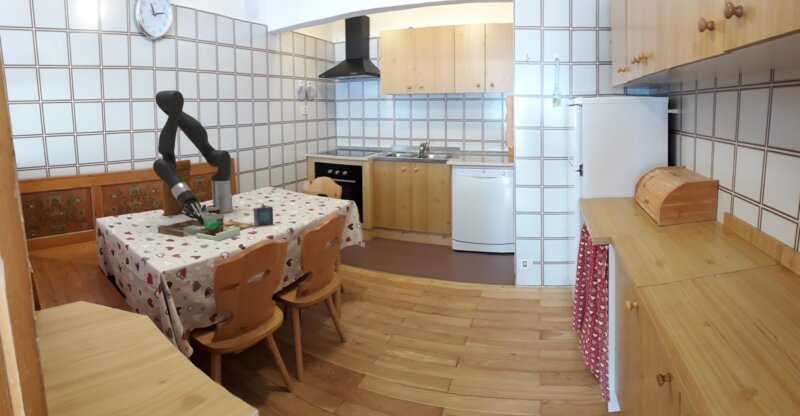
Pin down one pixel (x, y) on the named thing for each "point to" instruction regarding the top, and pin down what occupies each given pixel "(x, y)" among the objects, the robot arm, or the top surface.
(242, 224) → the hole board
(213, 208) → the mate gourd
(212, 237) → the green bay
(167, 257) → the top surface
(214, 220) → the food container
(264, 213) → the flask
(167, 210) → the pancake mix bag
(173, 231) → the walnut stall
